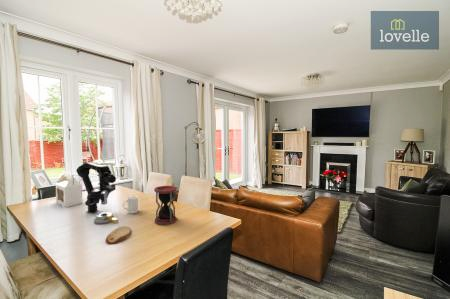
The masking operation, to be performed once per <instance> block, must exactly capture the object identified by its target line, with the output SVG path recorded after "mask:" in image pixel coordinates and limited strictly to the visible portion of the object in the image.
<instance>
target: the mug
mask: <svg viewBox="0 0 450 299" xmlns="http://www.w3.org/2000/svg"><path fill="white" fill-rule="evenodd" d="M138 199H139V197H138V196H137V195H136V196H135V195H133V196H132V195H131V196H127V198H126V200H125V201H124V202H123V203H122V206H123V209H124V210H126V211H127V212H126V213H127V214H136V213H138V212H139V200H138ZM125 203H126V205H127V208H126V207H125Z"/></svg>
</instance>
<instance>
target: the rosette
mask: <svg viewBox="0 0 450 299" xmlns="http://www.w3.org/2000/svg"><path fill="white" fill-rule="evenodd" d="M113 214H114V213H111V212H101V213H98V214H97V215H95V216H94V219H93V223H94V224H95V225H106V224H116V223H119V219H118V217H117V218H116V217H115V215H113Z"/></svg>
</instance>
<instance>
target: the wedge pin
mask: <svg viewBox="0 0 450 299" xmlns="http://www.w3.org/2000/svg"><path fill="white" fill-rule="evenodd" d="M103 193H104V195H103V202H102V201H101V200H100V202H101V203H100V204H101V205H103V206H104V205H107V204H108V198H107V194H108V192H103Z"/></svg>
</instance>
